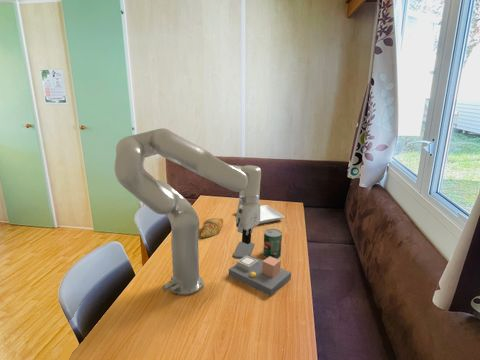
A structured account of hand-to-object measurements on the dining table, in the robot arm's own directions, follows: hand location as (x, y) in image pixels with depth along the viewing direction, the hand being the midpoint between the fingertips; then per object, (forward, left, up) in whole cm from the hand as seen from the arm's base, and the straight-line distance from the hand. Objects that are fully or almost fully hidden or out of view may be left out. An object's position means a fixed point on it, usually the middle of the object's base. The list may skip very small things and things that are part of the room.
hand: (246, 242), depth 122 cm
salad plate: (+50, +29, -14) cm, 59 cm away
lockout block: (+3, -10, -10) cm, 15 cm away
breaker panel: (+1, -6, -13) cm, 15 cm away
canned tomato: (+19, 0, -14) cm, 23 cm away
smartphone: (+14, +12, -14) cm, 23 cm away
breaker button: (+1, 0, -10) cm, 10 cm away
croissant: (+19, +37, -14) cm, 44 cm away
